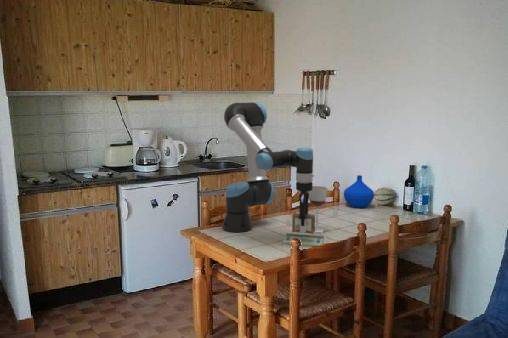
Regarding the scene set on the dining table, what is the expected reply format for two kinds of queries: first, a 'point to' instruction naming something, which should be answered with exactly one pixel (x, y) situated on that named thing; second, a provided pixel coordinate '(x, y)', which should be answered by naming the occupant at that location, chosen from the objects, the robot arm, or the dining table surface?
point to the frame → (309, 223)
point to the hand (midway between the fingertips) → (303, 230)
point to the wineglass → (318, 201)
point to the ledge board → (304, 239)
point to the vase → (358, 194)
